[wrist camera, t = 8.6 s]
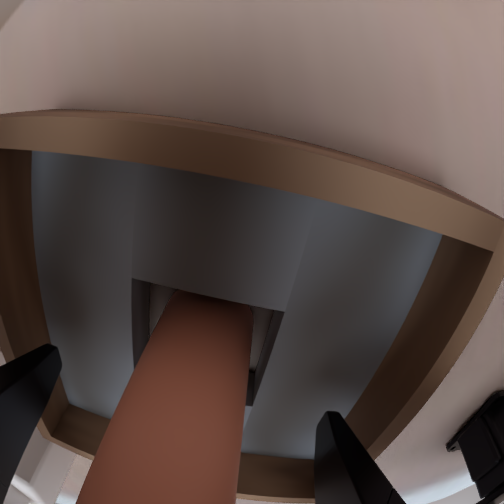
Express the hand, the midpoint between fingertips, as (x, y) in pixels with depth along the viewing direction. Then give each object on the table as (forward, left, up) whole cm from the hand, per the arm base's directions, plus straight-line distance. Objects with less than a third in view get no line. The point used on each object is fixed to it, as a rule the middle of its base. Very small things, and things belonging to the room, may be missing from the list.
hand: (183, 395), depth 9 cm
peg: (0, 0, -4) cm, 4 cm away
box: (0, 0, -4) cm, 4 cm away
